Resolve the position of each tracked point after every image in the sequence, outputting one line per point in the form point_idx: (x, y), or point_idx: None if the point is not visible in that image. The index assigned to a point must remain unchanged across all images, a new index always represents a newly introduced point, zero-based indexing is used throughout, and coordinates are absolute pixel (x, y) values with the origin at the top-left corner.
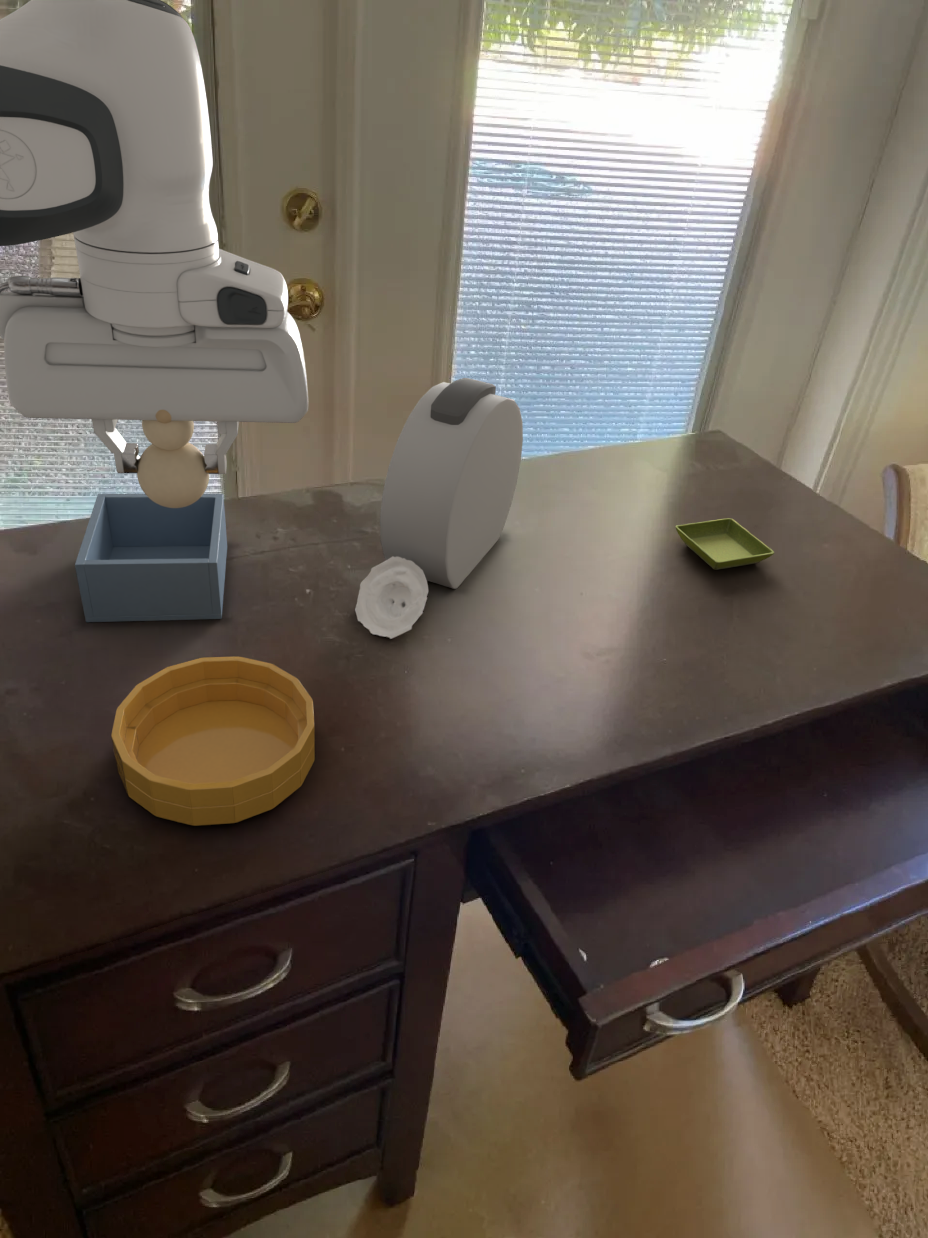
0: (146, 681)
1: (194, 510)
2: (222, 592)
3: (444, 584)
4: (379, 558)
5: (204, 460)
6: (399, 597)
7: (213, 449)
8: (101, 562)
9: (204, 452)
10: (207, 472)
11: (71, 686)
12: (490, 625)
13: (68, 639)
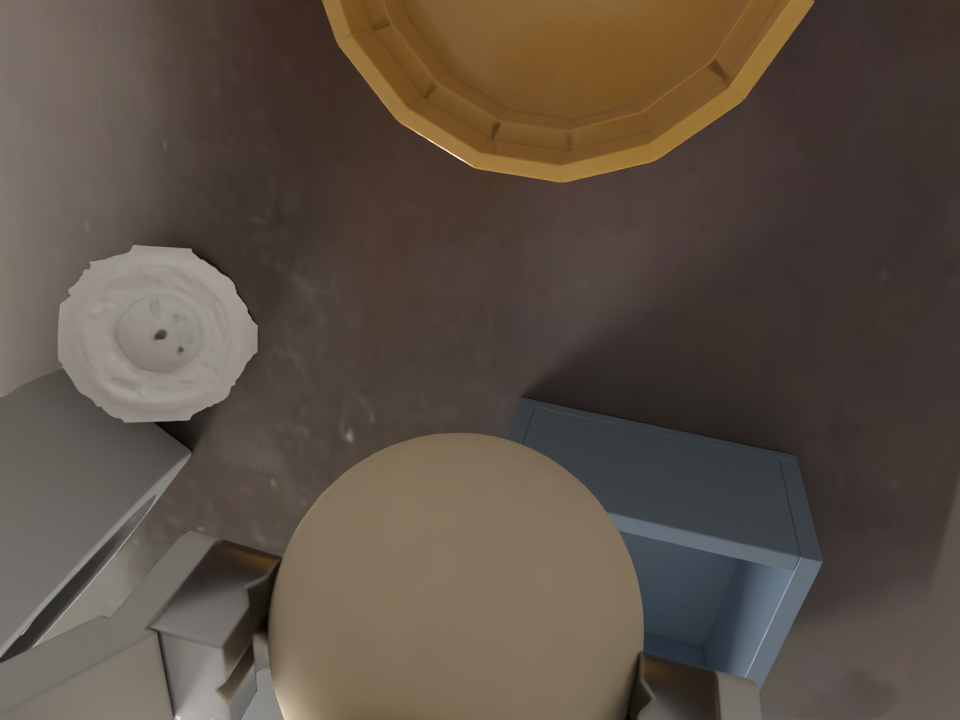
0: (714, 110)
1: None
2: None
3: None
4: (219, 490)
5: (242, 615)
6: (160, 349)
7: (180, 678)
8: (757, 552)
9: (222, 665)
10: (272, 557)
11: (869, 257)
12: (15, 252)
13: (843, 413)
